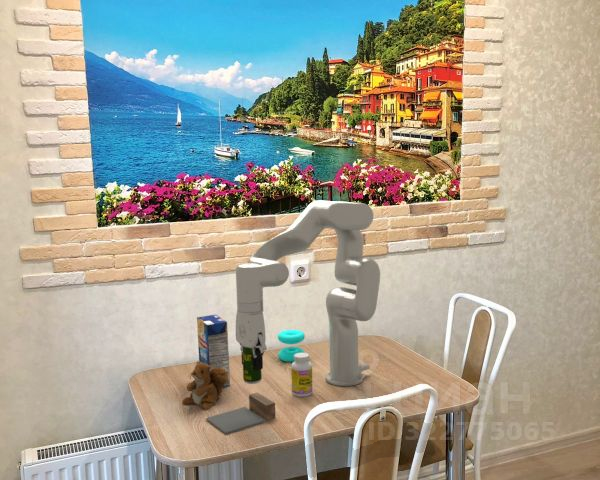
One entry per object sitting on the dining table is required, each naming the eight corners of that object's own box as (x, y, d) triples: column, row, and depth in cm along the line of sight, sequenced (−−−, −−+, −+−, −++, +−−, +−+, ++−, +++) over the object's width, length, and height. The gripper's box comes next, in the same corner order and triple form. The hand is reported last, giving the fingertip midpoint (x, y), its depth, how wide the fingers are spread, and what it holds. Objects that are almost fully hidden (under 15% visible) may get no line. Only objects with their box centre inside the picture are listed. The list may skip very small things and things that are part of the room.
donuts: (302, 336, 231) (275, 336, 233) (303, 363, 233) (276, 362, 234) (306, 328, 241) (280, 328, 242) (306, 354, 243) (280, 353, 244)
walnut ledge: (258, 406, 196) (257, 392, 195) (275, 417, 188) (274, 402, 187) (249, 408, 194) (248, 394, 193) (266, 420, 186) (266, 405, 185)
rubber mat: (245, 408, 194) (244, 406, 194) (265, 422, 185) (265, 420, 185) (206, 419, 187) (206, 418, 187) (225, 434, 177) (225, 432, 177)
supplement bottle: (297, 399, 201) (296, 359, 199) (288, 392, 206) (287, 353, 204) (316, 394, 204) (315, 356, 202) (306, 388, 209) (305, 350, 207)
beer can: (252, 376, 191) (251, 337, 190) (265, 380, 188) (264, 340, 186) (239, 381, 187) (238, 342, 186) (252, 385, 184) (251, 345, 182)
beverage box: (210, 390, 210) (207, 325, 207) (200, 379, 220) (196, 317, 216) (230, 386, 213) (227, 322, 210) (218, 375, 223) (216, 314, 219)
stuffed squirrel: (179, 404, 199) (177, 364, 197) (212, 390, 210) (210, 351, 208) (201, 412, 193) (199, 370, 191) (234, 397, 204) (232, 357, 202)
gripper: (224, 302, 189) (227, 361, 192) (254, 314, 175) (256, 378, 178) (246, 298, 193) (248, 356, 196) (277, 310, 179) (278, 372, 182)
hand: (252, 366), depth 187 cm, fingers closed on beer can, 5 cm apart
